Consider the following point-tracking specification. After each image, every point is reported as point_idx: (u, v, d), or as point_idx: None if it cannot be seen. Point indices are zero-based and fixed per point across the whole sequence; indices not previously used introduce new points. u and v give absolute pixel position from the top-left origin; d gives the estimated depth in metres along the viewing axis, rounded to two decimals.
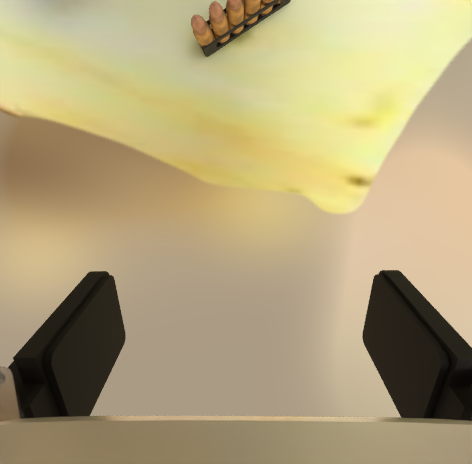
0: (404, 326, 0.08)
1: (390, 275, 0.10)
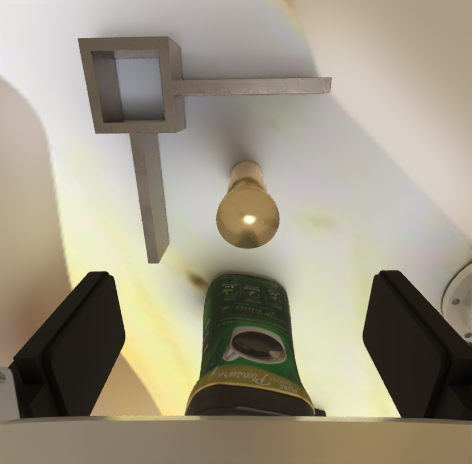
0: (404, 326, 0.08)
1: (390, 275, 0.10)
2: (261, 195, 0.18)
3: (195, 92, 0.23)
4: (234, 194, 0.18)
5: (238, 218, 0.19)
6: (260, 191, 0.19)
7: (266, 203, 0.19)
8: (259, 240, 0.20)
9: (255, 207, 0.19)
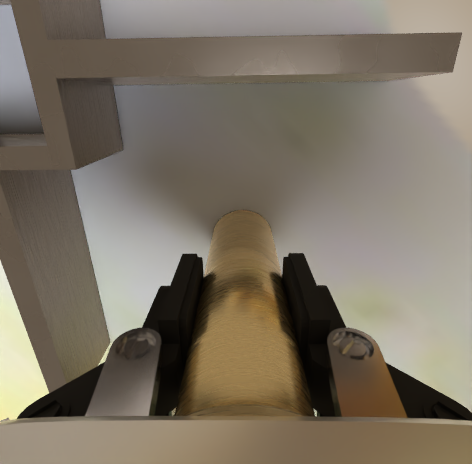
0: (291, 299, 0.10)
1: (293, 257, 0.11)
2: None
3: (111, 72, 0.09)
4: None
5: None
6: None
7: None
8: None
9: None
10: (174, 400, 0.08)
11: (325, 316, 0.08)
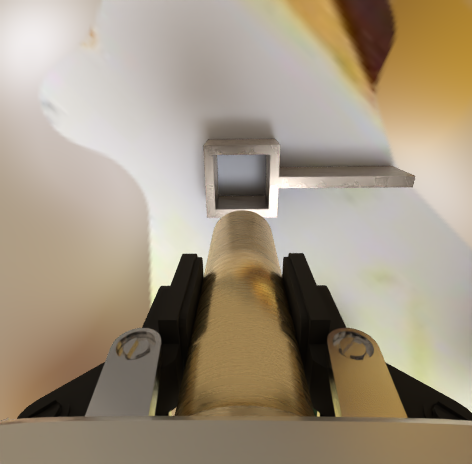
0: (291, 299, 0.10)
1: (293, 257, 0.11)
2: None
3: (298, 186, 0.27)
4: None
5: None
6: None
7: None
8: None
9: None
10: (174, 400, 0.08)
11: (325, 316, 0.08)
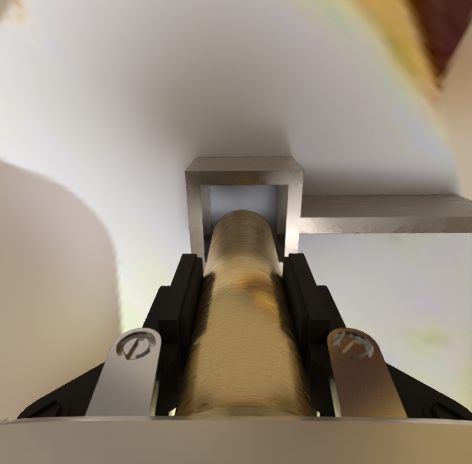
0: (291, 299, 0.10)
1: (293, 257, 0.11)
2: None
3: (328, 231, 0.18)
4: None
5: None
6: None
7: None
8: None
9: None
10: (174, 400, 0.08)
11: (325, 316, 0.08)
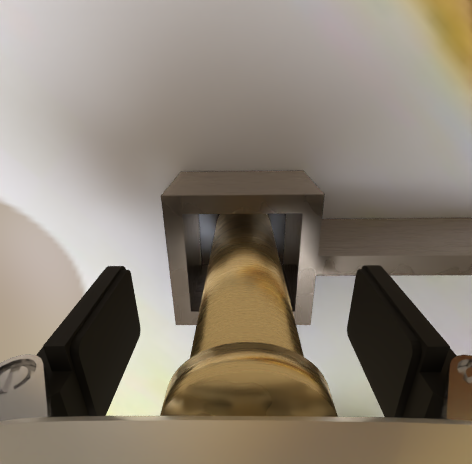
0: (382, 318, 0.09)
1: (371, 269, 0.10)
2: (291, 386, 0.06)
3: (355, 273, 0.14)
4: (207, 382, 0.06)
5: None
6: (287, 371, 0.06)
7: (305, 403, 0.06)
8: None
9: (271, 412, 0.06)
10: None
11: (441, 341, 0.07)
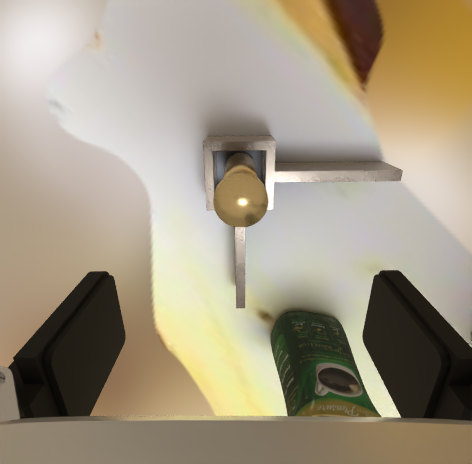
0: (404, 326, 0.08)
1: (390, 275, 0.10)
2: (252, 179, 0.21)
3: (292, 180, 0.29)
4: (229, 179, 0.21)
5: (232, 200, 0.22)
6: (251, 176, 0.21)
7: (257, 186, 0.21)
8: (251, 220, 0.22)
9: (247, 190, 0.22)
10: None
11: None
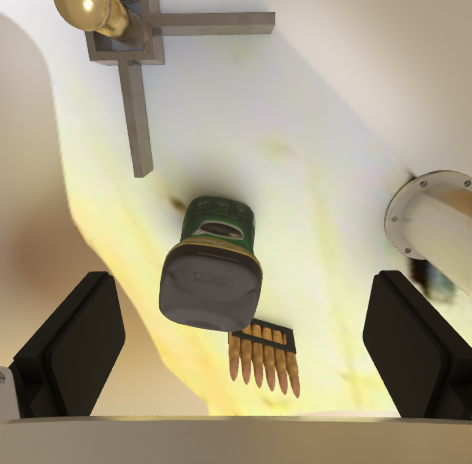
0: (404, 326, 0.08)
1: (390, 275, 0.10)
2: None
3: (168, 24, 0.29)
4: None
5: None
6: None
7: None
8: (94, 20, 0.23)
9: None
10: None
11: None
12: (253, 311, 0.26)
